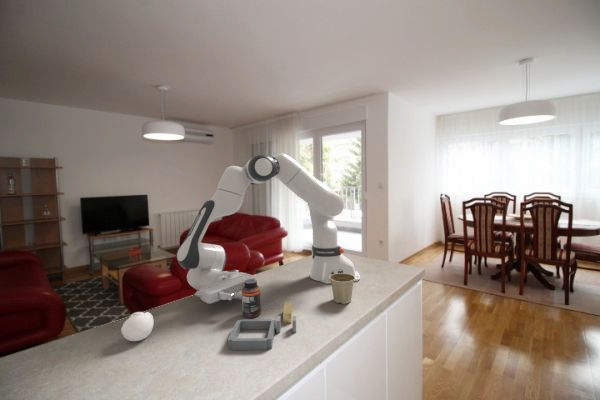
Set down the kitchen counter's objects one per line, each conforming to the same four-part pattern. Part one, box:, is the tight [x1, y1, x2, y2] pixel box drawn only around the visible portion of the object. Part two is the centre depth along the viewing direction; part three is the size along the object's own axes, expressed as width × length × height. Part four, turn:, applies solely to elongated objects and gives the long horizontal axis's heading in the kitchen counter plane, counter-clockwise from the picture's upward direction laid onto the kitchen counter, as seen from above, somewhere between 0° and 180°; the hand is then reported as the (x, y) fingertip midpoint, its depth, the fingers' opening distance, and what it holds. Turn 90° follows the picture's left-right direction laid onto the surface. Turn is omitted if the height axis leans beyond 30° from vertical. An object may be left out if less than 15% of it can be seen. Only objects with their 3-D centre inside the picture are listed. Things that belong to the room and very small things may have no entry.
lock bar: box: [282, 301, 293, 324], centre depth 89 cm, size 8×2×3 cm, turn 179°
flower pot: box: [329, 273, 355, 305], centre depth 101 cm, size 9×9×9 cm
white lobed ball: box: [120, 311, 155, 342], centre depth 78 cm, size 8×8×8 cm
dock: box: [227, 315, 297, 351], centre depth 77 cm, size 18×11×4 cm, turn 89°
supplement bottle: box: [241, 279, 262, 319], centre depth 91 cm, size 6×6×11 cm
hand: (243, 292), depth 94 cm, fingers open, 8 cm apart
